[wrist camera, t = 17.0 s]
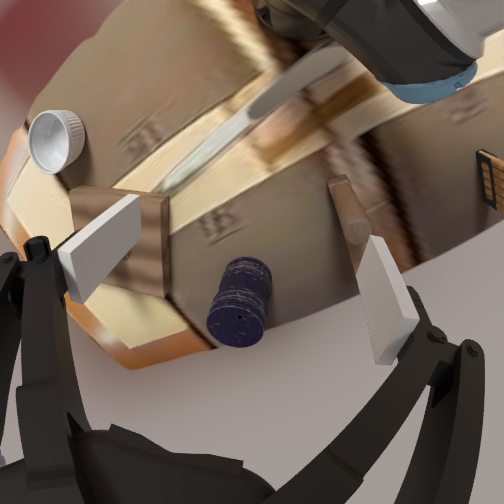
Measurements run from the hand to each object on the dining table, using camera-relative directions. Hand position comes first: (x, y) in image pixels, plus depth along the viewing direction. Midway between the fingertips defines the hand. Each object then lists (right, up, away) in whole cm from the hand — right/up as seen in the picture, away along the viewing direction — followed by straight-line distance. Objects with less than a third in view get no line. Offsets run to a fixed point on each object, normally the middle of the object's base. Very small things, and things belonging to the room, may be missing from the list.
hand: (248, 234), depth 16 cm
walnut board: (-28, +2, +44) cm, 52 cm away
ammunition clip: (+45, +14, +26) cm, 53 cm away
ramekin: (-39, +24, +33) cm, 56 cm away
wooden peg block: (+16, +8, +34) cm, 38 cm away
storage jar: (-1, -6, +44) cm, 45 cm away
